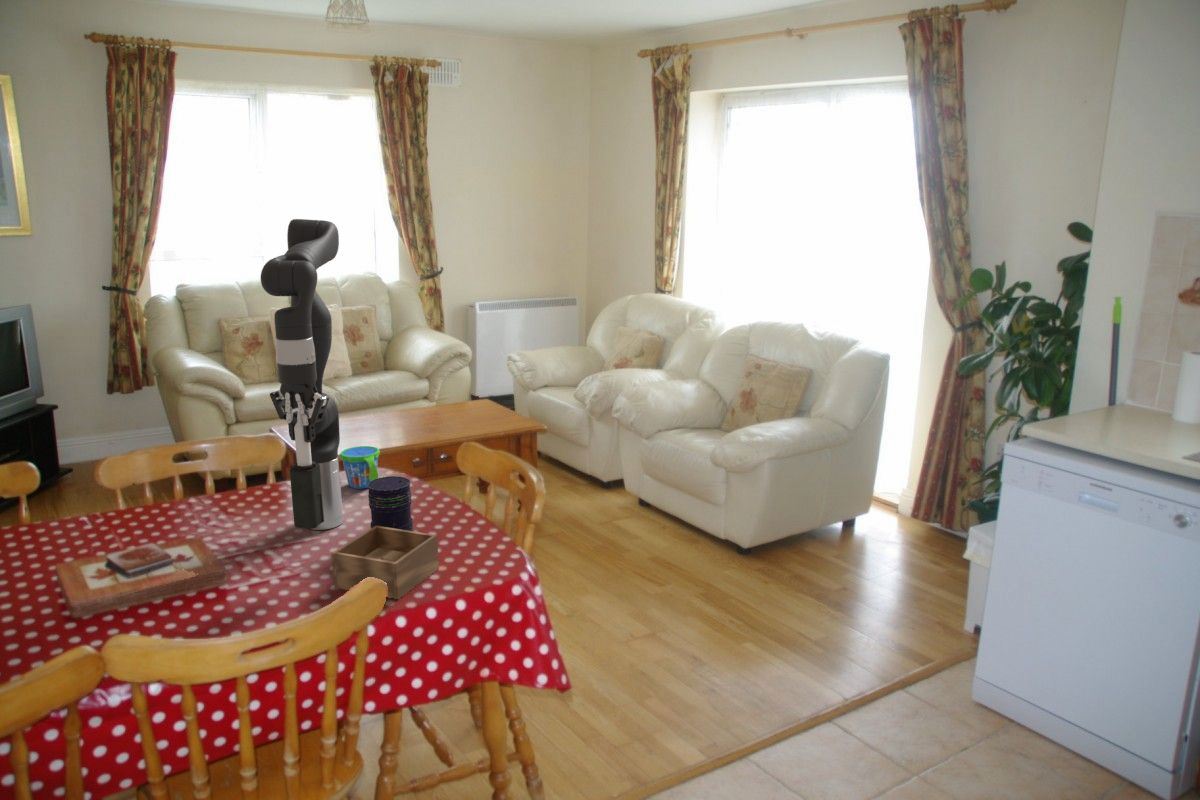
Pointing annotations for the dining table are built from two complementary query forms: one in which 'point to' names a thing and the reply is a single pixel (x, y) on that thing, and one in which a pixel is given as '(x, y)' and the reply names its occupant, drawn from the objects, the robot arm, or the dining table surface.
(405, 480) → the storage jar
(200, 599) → the dining table surface
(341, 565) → the peg box
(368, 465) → the snack cup
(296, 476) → the candle
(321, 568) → the dining table surface
